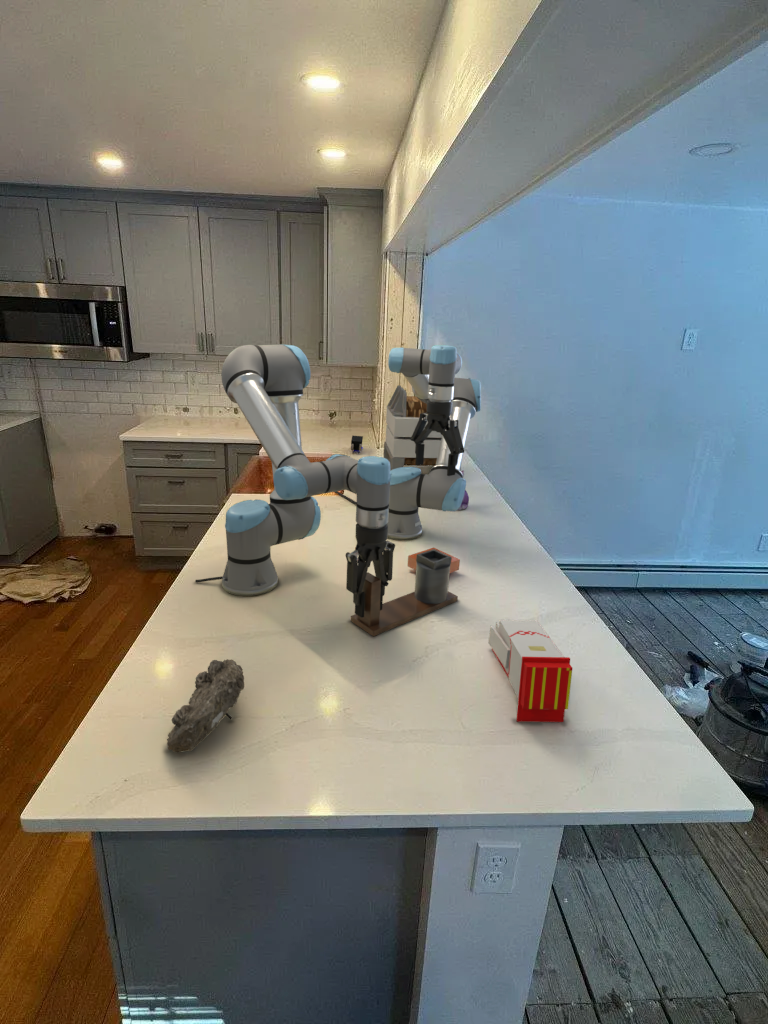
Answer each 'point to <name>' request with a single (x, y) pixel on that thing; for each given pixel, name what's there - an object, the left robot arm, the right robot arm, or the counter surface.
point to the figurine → (464, 498)
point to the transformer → (407, 432)
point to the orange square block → (454, 561)
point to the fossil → (206, 705)
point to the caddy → (408, 595)
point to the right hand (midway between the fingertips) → (434, 469)
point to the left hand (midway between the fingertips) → (368, 611)
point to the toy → (533, 669)
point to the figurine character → (356, 443)
